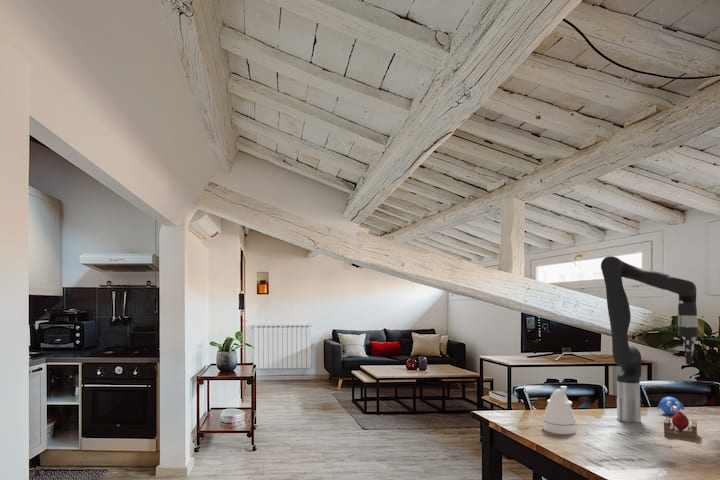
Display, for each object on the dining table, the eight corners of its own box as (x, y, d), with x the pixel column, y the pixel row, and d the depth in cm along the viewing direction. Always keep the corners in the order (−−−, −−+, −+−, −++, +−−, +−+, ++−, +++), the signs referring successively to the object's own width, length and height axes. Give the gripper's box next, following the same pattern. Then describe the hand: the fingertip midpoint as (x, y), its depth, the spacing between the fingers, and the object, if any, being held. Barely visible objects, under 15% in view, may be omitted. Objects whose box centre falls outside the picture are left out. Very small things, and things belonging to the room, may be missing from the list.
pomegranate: (687, 429, 218) (686, 409, 219) (690, 433, 212) (689, 412, 213) (671, 428, 220) (670, 408, 220) (674, 431, 214) (673, 411, 215)
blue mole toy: (663, 417, 248) (662, 399, 249) (654, 412, 260) (653, 394, 261) (691, 419, 246) (690, 400, 247) (680, 413, 258) (679, 395, 259)
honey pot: (577, 428, 225) (576, 385, 226) (575, 435, 213) (574, 389, 215) (545, 424, 230) (544, 382, 232) (541, 431, 218) (541, 387, 220)
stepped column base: (696, 441, 208) (695, 426, 208) (664, 436, 214) (663, 422, 214) (697, 434, 218) (696, 421, 218) (666, 430, 224) (665, 417, 224)
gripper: (679, 324, 241) (680, 361, 239) (676, 326, 229) (678, 364, 227) (698, 325, 236) (700, 362, 235) (697, 326, 225) (699, 365, 223)
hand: (689, 363), depth 231 cm, fingers open, 8 cm apart
